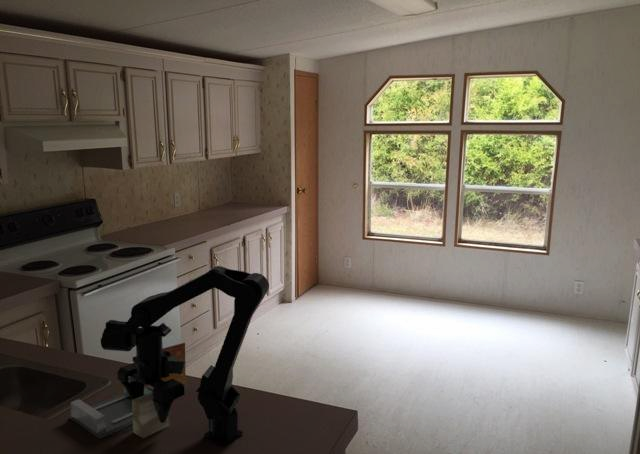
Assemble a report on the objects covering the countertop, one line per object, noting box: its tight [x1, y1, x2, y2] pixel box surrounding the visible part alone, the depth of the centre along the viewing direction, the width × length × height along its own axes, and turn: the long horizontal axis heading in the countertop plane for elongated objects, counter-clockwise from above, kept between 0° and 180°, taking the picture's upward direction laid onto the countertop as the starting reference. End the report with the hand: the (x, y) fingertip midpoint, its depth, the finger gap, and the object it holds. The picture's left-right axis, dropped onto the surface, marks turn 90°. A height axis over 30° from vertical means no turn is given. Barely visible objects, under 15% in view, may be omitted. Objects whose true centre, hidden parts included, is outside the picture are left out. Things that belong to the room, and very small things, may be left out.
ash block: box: [132, 392, 170, 439], centre depth 119 cm, size 4×7×8 cm, turn 142°
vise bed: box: [69, 392, 133, 440], centre depth 125 cm, size 14×16×4 cm
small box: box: [148, 335, 186, 391], centre depth 139 cm, size 8×6×13 cm
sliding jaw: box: [123, 386, 153, 397], centre depth 130 cm, size 12×2×3 cm, turn 52°
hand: (151, 415), depth 119 cm, fingers open, 9 cm apart
